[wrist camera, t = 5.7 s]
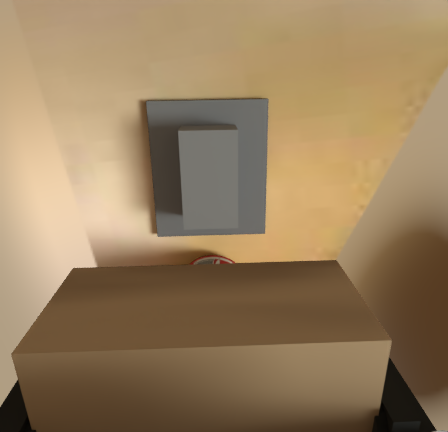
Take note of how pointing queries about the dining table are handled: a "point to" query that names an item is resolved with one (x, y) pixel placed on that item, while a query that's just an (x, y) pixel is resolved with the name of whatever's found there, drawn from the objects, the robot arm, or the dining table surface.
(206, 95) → the dining table surface
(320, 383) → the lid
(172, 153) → the grey stepped base
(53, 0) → the dining table surface
